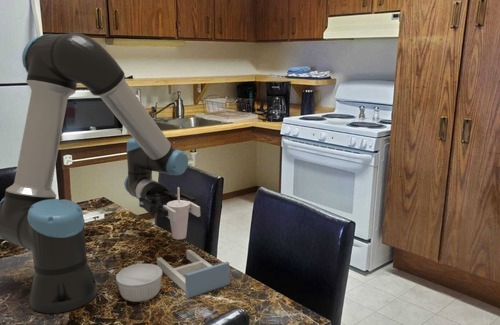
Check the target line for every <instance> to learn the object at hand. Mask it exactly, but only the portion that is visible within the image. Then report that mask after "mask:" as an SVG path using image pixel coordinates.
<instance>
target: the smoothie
mask: <svg viewBox="0 0 500 325" xmlns="http://www.w3.org/2000/svg"><path fill="white" fill-rule="evenodd" d="M180 191H181V190H180V187H179V186H178V187H177V193H178V200H174V201H170V202H168V203H167V205H166V206H168V207H170V208H171V209H173V210H175V211H176V222H173V221H172V220H170V219H169V223H170V229H171V235H172V238H173V240H183V239H186V238H187V232H188V231H187V230H188V223H189V222H188V220H189V213H190V212H189V208H190V202H188V201H185V200H180Z"/></svg>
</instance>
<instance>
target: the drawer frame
mask: <svg viewBox="0 0 500 325" xmlns="http://www.w3.org/2000/svg"><path fill="white" fill-rule="evenodd" d="M186 259H187V260H188V261H189V262H191V263H188V264H185V265H181V266H177V267H173V266H172V265H170V263H168V262H167V261H166V260H165V259H164V258H163V257H161V256H159V257H156V265H157V266H159V267H160V268H161V269H162V273H164V274H165V275H166V276H167V277H168V278H169V279H170V280H171V281H172V282H174V283H175V285H177V286H178V287H179V288H180V289H181V290H182V291H183V292H184V293H185V297H186V298H187V299H190V298H192V297H196V296H199V295H202V294H204V293H207V292H211V291H215V290H216V289H220V288H223V287H226V286H229V285H230V262H229V261H225V262H221V263H218V264H214V265H212V264H211V263H210V262H208V261H207V260H205V259H204V258H202V256H200V255H199V254H197V253H196V252H195V251H193V250H192V249H186Z"/></svg>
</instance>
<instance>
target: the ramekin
mask: <svg viewBox="0 0 500 325" xmlns="http://www.w3.org/2000/svg"><path fill="white" fill-rule="evenodd" d="M163 273H164V272H163V271H162V269H161V268H160V267H159V266H157V264H153V263H136V264H133V265H128V266H126V267H124V268H123V269H120V271H118V273H116V275H115V281H116V282H115V283H116V284H117V286H118V290H119V294H120V296H121V298H123V299H124V300H126V301H129V302H131V303H137V302H138V303H139V302H145V301H149V300H151V299H154V297H156V296H157V295H158V294H159V292H160V291H161V286H162V278H163Z"/></svg>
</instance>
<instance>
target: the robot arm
mask: <svg viewBox="0 0 500 325" xmlns="http://www.w3.org/2000/svg"><path fill="white" fill-rule="evenodd" d="M21 58H22V59H21V61H22V66H23V68H24V69H25V71H26V73H27V76H26V81H25V82H26V84H27V85H28V86H29V88H30V89H31V92H30V98H29V103H28V108H27V113H26V119H25V124H24V130H23V135H22V140H21V145H20V151H19V155H18V156H19V157H18V162H17V167H16V170H15V172H16V173H15V177H14V182H13V184H12V185H10V186H9V187H7V188H6V189H5V193H4V197H3V198H2V199H1V201H0V238H2V239H3V240H4V241H7V243H10V244H13V245H16V246H19V247H21V248H24V249H26V250H28V251H31V253H32V261H33V267H34V274H33V280H32V283H31V284H32V285H31V288H30V290H29V294H28V296H29V297H28V298H29V305H30V307H31V309H33V310H34V311H36V312H39V313H43V314H59V313H60V314H61V313H66V312H70V311H73V310H76V309H79V308H82V307H83V306H85V305H87V304H89V303H90V302H91V301H92V300H93V299H94V298H95V297H96V296H97V293H98V288H97V280H96V279H95V277H94V275H93V272H92V270H91V268H90V266H89V264H88V257H87V256H88V255H87V246H86V245H87V244H86V234H85V232H86V230H85V217H84V213H83V209H82V208H81V206H80V205H79V204H78V203H76V202H75V201H72V200H69V199H64V198H63V199H59V198H57V194H56V193H55V191H54V190H53V189H52V186H53V180H54V175H55V170H56V164H57V159H58V153H59V148H60V144H61V138H62V137H61V136H62V132H63V131H62V130H63V126H64V121H65V115H66V110H67V104H68V99H69V97H71V96H73V95H74V94H76V91H77V86H78V84H81V85H82V86H83V87H86V88H87V90H88V91H89V92H90V94H92V96H96V97H99V98H100V99H101V100H102V101H103V102H104V103H105V105H106V106H107V107H108V109H109V110H110V111H111V112H112V114H113V115H114V117H116V118H117V119H118V121H119V122H120V124H121V125H122V126H123V127H124V128H125V130H126V131H127V132H128V133H129V135H130V136H131V137H132V138H129V139H128V140H127V141H126V160H127V161H126V162H127V176H126V178H125V179H124V189H125V191H126V192H128V193H129V195H130V196H132V197H133V198H136V199H138V200H139V201H138V204H139V206H138V207H140V208H142V209H144V210H145V211H146V212H147V213H148V214H150V216H156V214H157V217H158V218H163V217H166V218H168V219H169V221H170V220H172V221H173V222H176V211H175V210H173V209H171V208H170V207H168V206H167V203H168V202H170V201H174V200H178V192H177V193H176V194H175V193H173V192H170V191H169V190H168V189H167V187H166V186H165V185H163V184H161V183H160V182H158V181H156V180H154V179H153V172H157V173H162V174H166V175H168V176H169V175H170V176H172V175H173V176H181V175H182V174H184V173H185V171H186V170H187V169H188V166H189V156H188V155H187V153H186V152H185V151H183V150H180V149H176V148H175V147H174V146H173V145H172V144H171V142H170V141H169V139H168V138H167V136H165V134H164V132H163V131H162V130H161V129H160V127H159V126H158V124H157V122H156V121H155V120H154V118H153V117H152V116H151V115H150V113H149V111H148V110H147V109H146V108H145V106H144V105H143V104H142V102H141V101H140V100H139V98H138V97H137V95H136V94H135V93H134V91H133V90H132V87H131V86H130V85H129V84H128V82H127V81H126V80H125V77H126V76H125V72H124V71H123V68H121V66H120V65H119V64H118V62H117V61H116V60H115V58H114V57H113V56H112V55H111V54H110V53H109V52H108V50H107V49H105V47H103V46H102V44H100V43H99V42H97V41H96V40H95V39H93V38H91V37H89V36H88V35H86V34H82V33H78V32H70V33H61V34H60V33H58V34H53V33H46V34H42V35H40V36H36V37H34V38H32V39H31V40H30V41H28V42H27V43H26V45H25V46H24V48H23V51H22V56H21ZM180 200H185V201H188V202H190V208H189V213H190V214H192V215H193V216H195V217H197V218H199V217H201V206H199V205H198V204H197V198H195V197H193V196H190V195H188V194H187V193H184V192H183V191H182V190H180Z"/></svg>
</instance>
